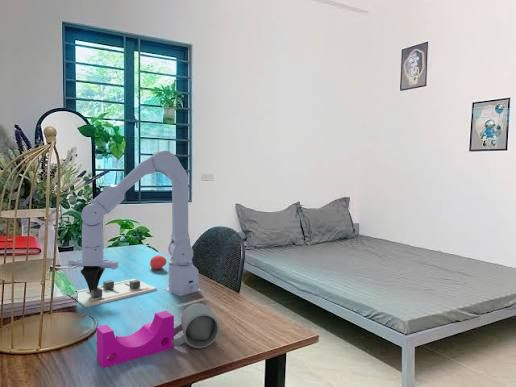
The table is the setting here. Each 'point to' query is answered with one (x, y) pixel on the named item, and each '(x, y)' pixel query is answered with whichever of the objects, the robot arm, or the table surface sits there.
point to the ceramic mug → (197, 327)
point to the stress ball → (157, 262)
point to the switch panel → (113, 293)
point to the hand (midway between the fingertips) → (93, 291)
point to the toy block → (135, 341)
